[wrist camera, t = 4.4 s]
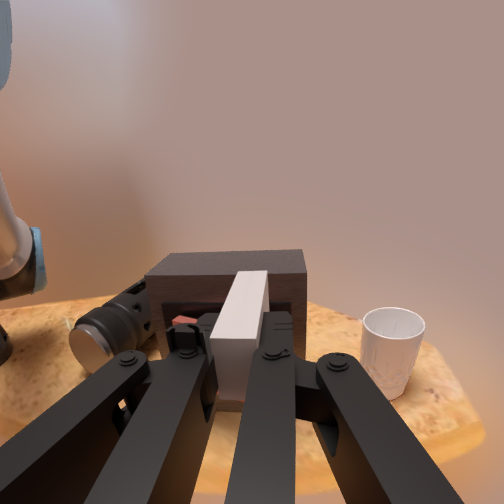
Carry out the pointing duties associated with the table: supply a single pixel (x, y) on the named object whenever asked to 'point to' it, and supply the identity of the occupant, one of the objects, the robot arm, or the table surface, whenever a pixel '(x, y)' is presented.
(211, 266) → the switch box
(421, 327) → the white cup
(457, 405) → the table surface
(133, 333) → the muzzle brake
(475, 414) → the table surface
